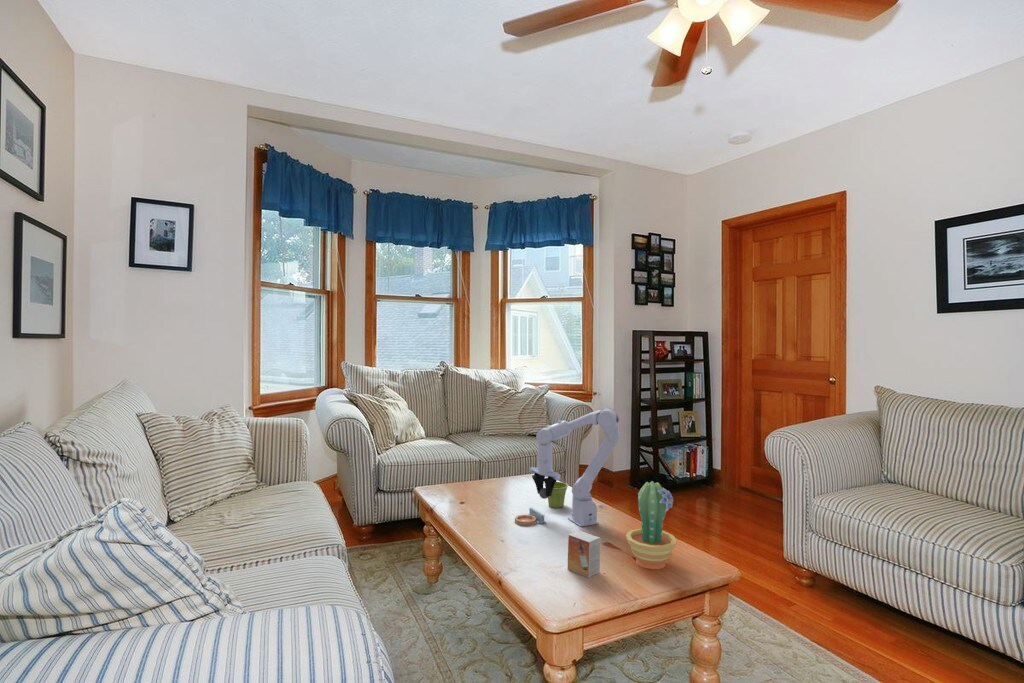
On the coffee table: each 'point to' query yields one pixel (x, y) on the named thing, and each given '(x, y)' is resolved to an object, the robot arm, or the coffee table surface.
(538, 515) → the blue slab with nubs
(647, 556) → the potted cactus
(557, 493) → the plant pot
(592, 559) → the small box
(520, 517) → the bowl
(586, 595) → the coffee table surface
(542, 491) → the ball
